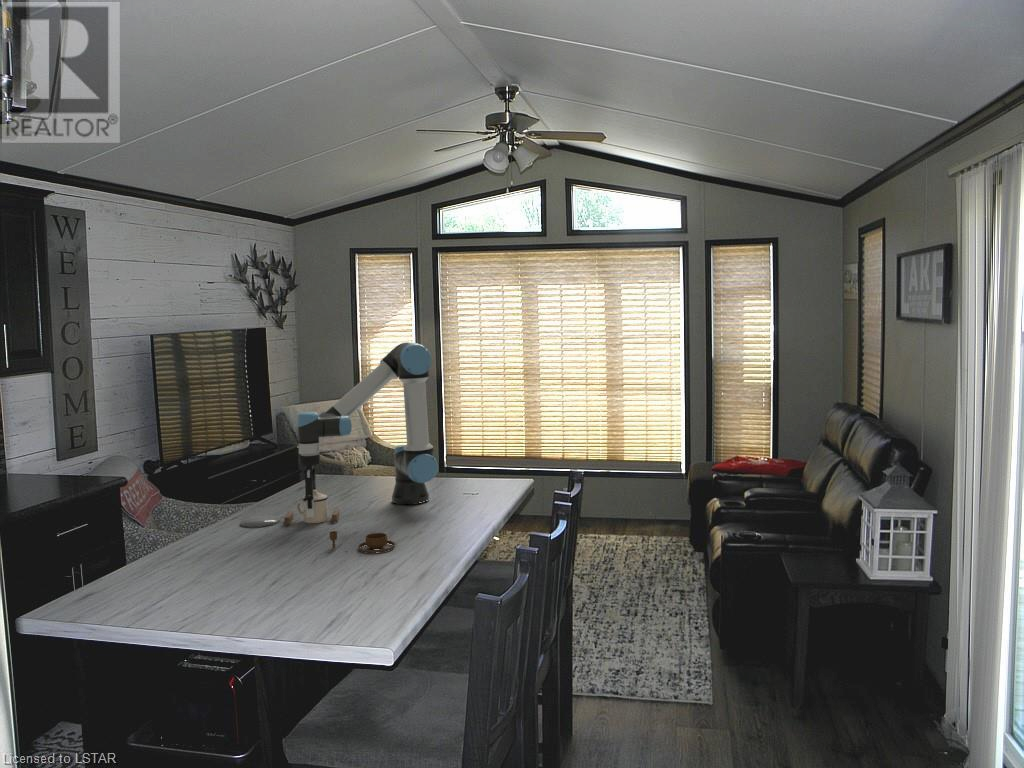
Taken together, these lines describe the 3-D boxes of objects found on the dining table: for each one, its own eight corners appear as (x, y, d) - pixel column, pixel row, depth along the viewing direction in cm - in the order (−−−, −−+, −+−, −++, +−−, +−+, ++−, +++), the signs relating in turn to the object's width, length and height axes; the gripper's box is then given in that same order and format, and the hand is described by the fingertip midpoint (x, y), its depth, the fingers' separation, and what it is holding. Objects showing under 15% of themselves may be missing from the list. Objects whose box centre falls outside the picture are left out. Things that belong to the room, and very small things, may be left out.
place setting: (369, 560, 261) (369, 541, 261) (326, 550, 273) (325, 533, 273) (408, 546, 276) (407, 529, 275) (365, 538, 287) (364, 521, 287)
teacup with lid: (332, 518, 314) (331, 487, 313) (321, 524, 305) (320, 493, 304) (303, 517, 317) (301, 487, 316) (291, 523, 308) (290, 492, 307)
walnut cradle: (339, 516, 317) (338, 508, 317) (337, 522, 307) (337, 514, 307) (287, 519, 315) (287, 511, 314) (284, 525, 305) (284, 517, 304)
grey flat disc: (282, 517, 318) (282, 514, 318) (277, 526, 304) (277, 523, 304) (244, 519, 316) (244, 516, 316) (237, 528, 302) (237, 525, 302)
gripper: (301, 450, 319) (304, 508, 321) (295, 459, 297) (298, 521, 299) (321, 449, 320) (324, 507, 322) (317, 458, 298) (319, 520, 300)
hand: (311, 514), depth 310 cm, fingers closed on teacup with lid, 9 cm apart
